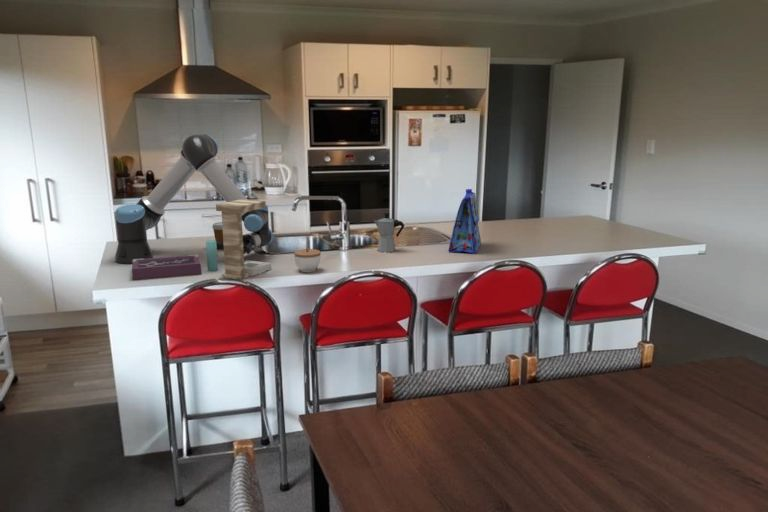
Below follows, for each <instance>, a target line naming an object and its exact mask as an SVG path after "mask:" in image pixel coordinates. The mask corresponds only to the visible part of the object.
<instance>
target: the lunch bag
mask: <svg viewBox="0 0 768 512" xmlns="http://www.w3.org/2000/svg"><path fill="white" fill-rule="evenodd" d="M479 221H480V219H479V213H478V205H477V197H476V193H475V192H473V189H472V188H466V189H465V195H464V197H463V198H462V199H461V202H460V204H459V207H458V210H457V213H456V216H455V219H454V224H453V228H452V232H451V237H450V241H449V246H448V253H454V252H455V253H457V252H458V253H459V252H460V253H461V252H465V253H469V254H473V255H475V254H477V251H478V249H479V247H480V246H481V245H482V240H481V239H482V238H481V233H480V227H479Z"/></svg>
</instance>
